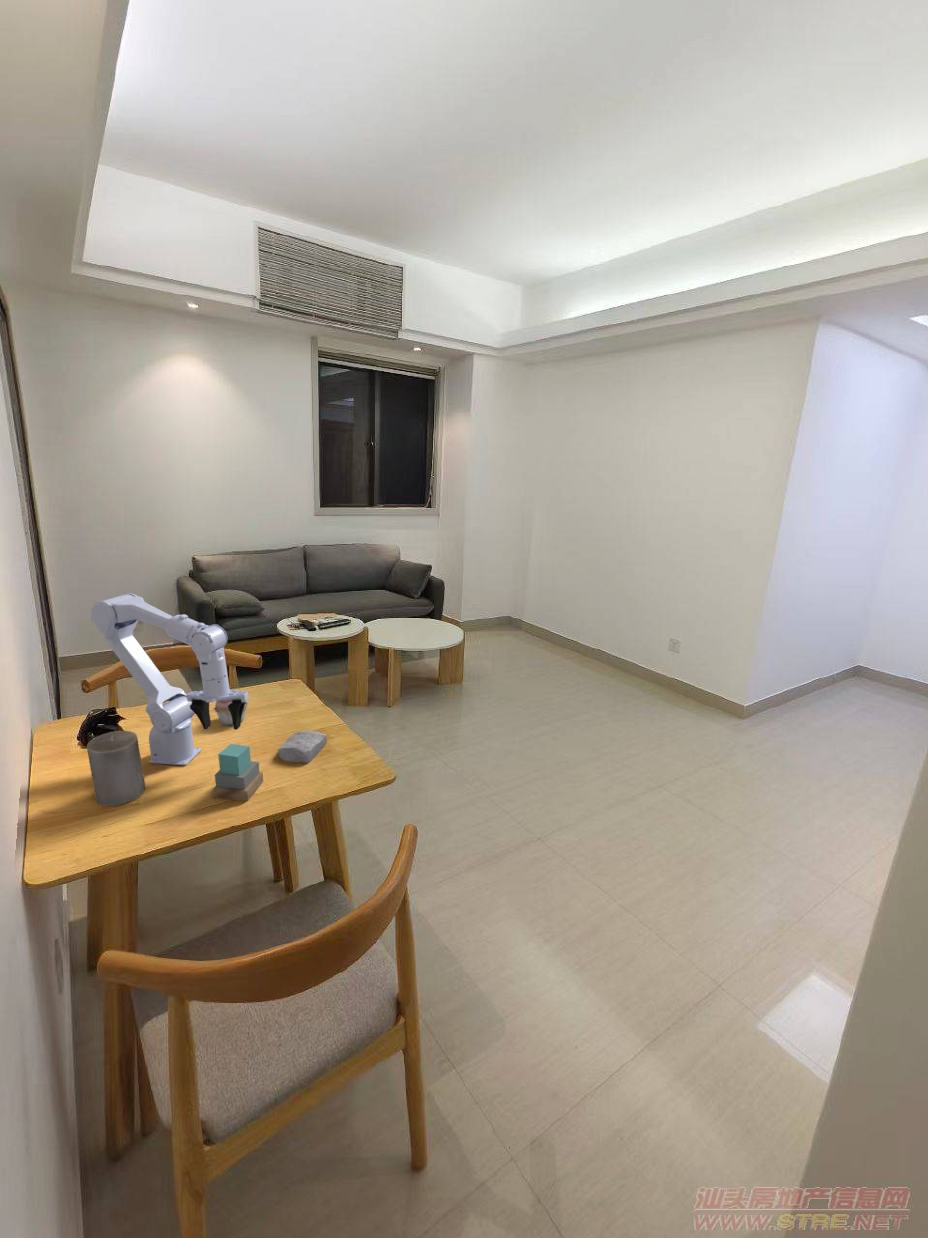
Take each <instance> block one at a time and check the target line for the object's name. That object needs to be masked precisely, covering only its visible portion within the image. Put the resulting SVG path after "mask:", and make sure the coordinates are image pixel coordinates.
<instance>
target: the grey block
mask: <svg viewBox="0 0 928 1238" xmlns="http://www.w3.org/2000/svg"><path fill="white" fill-rule="evenodd" d="M259 772H260V763H259V761H253V760H251V765H250V766H249V767H248V768H247V769H246V770H245V771H244V772H243V773H242V774H241V775H240V776H239V775H232V774H226V773H220V769H219V770H218V771H217V772H216V773H215V774H214V781H215V786H217V787H226V788H235V789H244V790H245V789H246V788H247V787H248V786H249V784H250V783H251V782H252V781H253V780H254V779H255V778H256V776H257V775H258V774H259Z"/></svg>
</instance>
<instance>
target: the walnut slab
mask: <svg viewBox="0 0 928 1238" xmlns="http://www.w3.org/2000/svg"><path fill="white" fill-rule="evenodd" d="M263 783H264V773H263V772H262V771H259V774H258V775H257V776H256V778H255V779H254V780H253V781H252V782H251V783H250V784H249V786H248V787H247V788H246V789H245V790H244V789H235V788H226V787H217V786H216V785H215V786H214V787H213V788H212V790H213V798H214V799H217V800H218V799H220V800H222V799H223V800H229V801H230V800H233V801H241V802H249V801H250V799H251V798H252V797H253V796H254V795H255V793H256V792H257V791H258V789H259V788H260V786H261V785H262V784H263Z"/></svg>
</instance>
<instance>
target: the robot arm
mask: <svg viewBox="0 0 928 1238" xmlns="http://www.w3.org/2000/svg"><path fill="white" fill-rule="evenodd" d="M90 616H91V617H90V620H92V622H93V623H94V625H95V626H96V627H97V629H98V630H99V632H100V633H101V634H102V636H103V638H104V639H105V642H106V643H107V644H108V646H109V647H110V648H111V650H112V651H113V652H114V654H115V655H116V656H117V658H118V660H120V662H121V663H122V664H123V666H124V667H125V668H126V669H127V671H128V672H129V674H130V675H131V676H132V677H133V679H134V681H136V683H137V684H138V686H139V687H140V688H141V690H142V691H143V693H144V694H145V695H146V696H147V698H148V701H147V704H146V706H145V707H146V708H145V712H146V713H147V715H148V716H149V720H150V723H151V725H152V727H151V729H150V731H149V734H148V743H149V749H150V751H149V752H150V760H149V763H150V764H161V765H174V766H176V765H177V766H186V765H188V764H189V763H190V762H191V761H192V760H193V759H194V758H196V756H197V755H198V754H199V753H200V752H201V751H202V748H201V747H195V746H194V737H193V727H192V726H193V725H192V721H194V720H193V716H196V717H197V718H198V720H199V721H200V723H201V726H202V728H203V730H208V729H209V728H210V727H211V726H212V723H211V722H212V721H211V716H210V715H211V714H210V703H214V702H215V703H216V701H232V703H231V704H229V705H228V709H229V711H230V713H231V716H232V721H233V725H232V726H233V727H232V728H233V730H234V731H235V730H238V729H240V727H241V726H242V725H241V724H242V722H241V717H242V712H243V709H244V706H245V704H246V703H247V701H248V700H249V699H250V698H249V691H241V690H235V689H230V684H229V676H228V669H227V661H226V655H225V649H224V647H225V646H226V645H227V644H228V638H229V637H228V634H227V631H226V630H225V629H224V628H223V627H222V626H220V625H219V624H211V625H208V624H205V623H204V622H199V621H196V620H194V619H192V618H189V616H188V615H187V614H185V613H184V614H176V615H174V616H173V615H171V614H169V613H167V612H164V610H163V611H162V610H161V609H159V608H157V607H156V606H153V605H151V604H149V603H148V602H146V601H145V599H144V598H143V597H142V596H140V595H139V596H138V595H136V594H135V593H131V592H128V593H124V594H122V595H119V596H115V597H112V598H108V599H104V600H98V601H96V602H95V603H93V605H92V608H91V615H90ZM139 621H141V622H143V623H146V624H149V625H152V626H155V627H158V628H161V629H163V630H165V632H166V634H167V636H168V637H170V638H172V639H174V640H177V641H178V642H181V643H184V644H186V645H188V646H190V648H191V650H192V651H193V652H194V654H195V656H196V660H197V661H198V663H199V669H200V677H201V681H202V682H201V683H202V688H203V690H197V691H195V690H194V691H190V692H188V693H186V692H185V691H184V690H183V689H182V687H181V688H180V687H175V686H172V685H170V684H169V682H168V681H167V679H166V678H165V677H164V675H163V674H162V673H161V672H160V670H159V669H158V668H157V666H156V665H155V664H154V662H153V661H152V659H151V658H150V656H149V655H148V654H147V653H146V651H145V650H144V649H143V647H142V646H141V644H140V643H139V642H138V641H137V639H136V638H135V636H134V635H133V634H134V630H135V628H136V627H137V625H138V623H139Z"/></svg>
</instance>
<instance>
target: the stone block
mask: <svg viewBox="0 0 928 1238" xmlns="http://www.w3.org/2000/svg"><path fill="white" fill-rule="evenodd" d="M327 742H328V736H327V734H326V733H322V732H318V731H315V730H301V731H297V732H295V733H293V734H292V735H291V736H289V737H288V738H287V739H286V740H285V742H284V743H282V744H281V746H280V747H279V748H278V750H277V753H278V756H279V758H280V760H283V761H285V762H292V763H293V762H295V763H296V762H297V763H303V764H304V763H305V764H308V763H311V761H313V759H314V758H315V757H316V756H317V755H318V754H319V753H320V751H321V750H322V749H323V748H324V747H325V746H326V744H327ZM324 745H325V746H324ZM318 752H319V753H318Z"/></svg>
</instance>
